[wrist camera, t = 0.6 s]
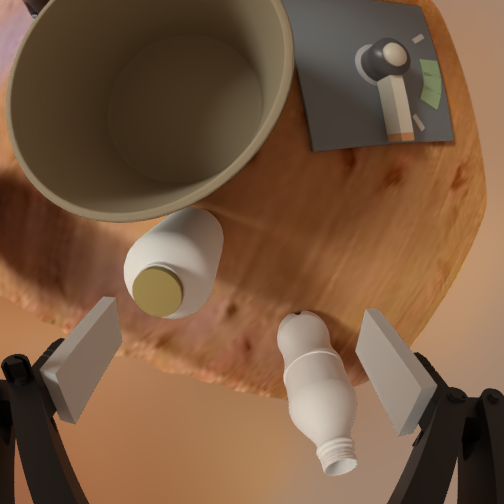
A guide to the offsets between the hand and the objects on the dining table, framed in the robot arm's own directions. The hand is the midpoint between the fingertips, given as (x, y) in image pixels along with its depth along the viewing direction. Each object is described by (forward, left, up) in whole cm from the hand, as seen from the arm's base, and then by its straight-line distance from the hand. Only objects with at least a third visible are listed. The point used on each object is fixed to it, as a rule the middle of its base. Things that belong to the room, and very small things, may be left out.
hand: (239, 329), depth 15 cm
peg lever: (-15, +21, -24) cm, 35 cm away
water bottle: (+16, +5, -26) cm, 31 cm away
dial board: (-19, +21, -26) cm, 38 cm away
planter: (-17, -5, -26) cm, 31 cm away
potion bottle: (0, -7, -26) cm, 27 cm away
